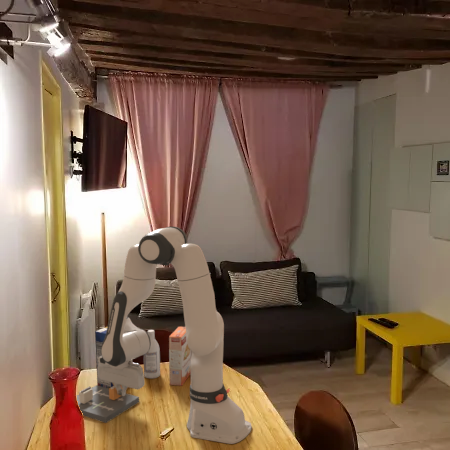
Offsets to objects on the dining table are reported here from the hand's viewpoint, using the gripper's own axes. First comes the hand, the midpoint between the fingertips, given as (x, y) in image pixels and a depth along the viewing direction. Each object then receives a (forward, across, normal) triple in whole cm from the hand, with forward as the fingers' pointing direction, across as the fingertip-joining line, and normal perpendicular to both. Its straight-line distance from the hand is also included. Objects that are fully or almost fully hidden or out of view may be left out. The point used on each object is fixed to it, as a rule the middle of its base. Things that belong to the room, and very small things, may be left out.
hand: (121, 394), depth 183 cm
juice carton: (+4, +15, -12) cm, 20 cm away
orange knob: (+2, +3, 0) cm, 3 cm away
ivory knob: (+2, +11, +8) cm, 13 cm away
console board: (+4, +7, +4) cm, 9 cm away
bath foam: (+4, +7, -27) cm, 28 cm away
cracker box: (+4, -6, -30) cm, 31 cm away
